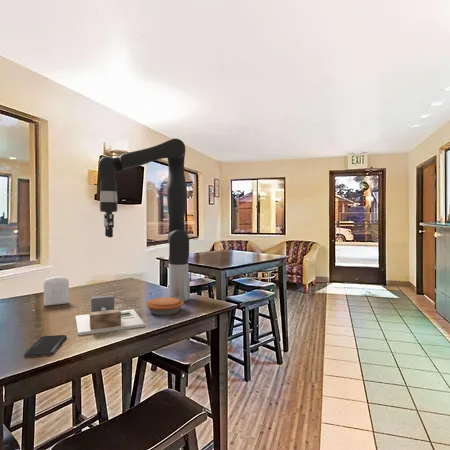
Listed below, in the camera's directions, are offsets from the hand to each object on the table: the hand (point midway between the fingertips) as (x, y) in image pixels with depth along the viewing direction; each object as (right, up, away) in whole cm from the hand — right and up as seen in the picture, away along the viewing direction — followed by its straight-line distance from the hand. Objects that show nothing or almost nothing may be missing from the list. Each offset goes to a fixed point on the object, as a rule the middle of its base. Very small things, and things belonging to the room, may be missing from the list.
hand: (108, 236), depth 157 cm
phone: (-1, -32, -53) cm, 62 cm away
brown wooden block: (+11, -30, -37) cm, 49 cm away
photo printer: (-22, -30, -3) cm, 38 cm away
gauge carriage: (+11, -30, -29) cm, 43 cm away
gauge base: (+10, -31, -29) cm, 44 cm away
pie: (+28, -31, -14) cm, 44 cm away
